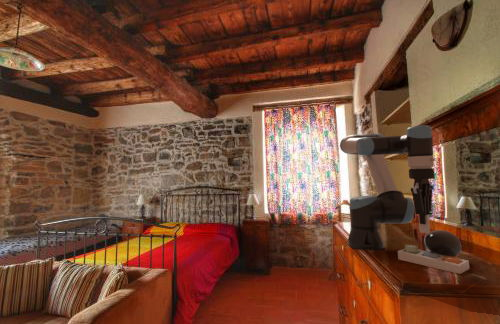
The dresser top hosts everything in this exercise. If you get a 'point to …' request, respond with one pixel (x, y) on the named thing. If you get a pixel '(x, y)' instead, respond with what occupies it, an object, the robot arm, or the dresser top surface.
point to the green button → (411, 249)
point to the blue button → (430, 254)
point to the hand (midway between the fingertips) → (424, 232)
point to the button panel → (433, 261)
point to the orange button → (452, 259)
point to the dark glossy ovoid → (443, 243)
